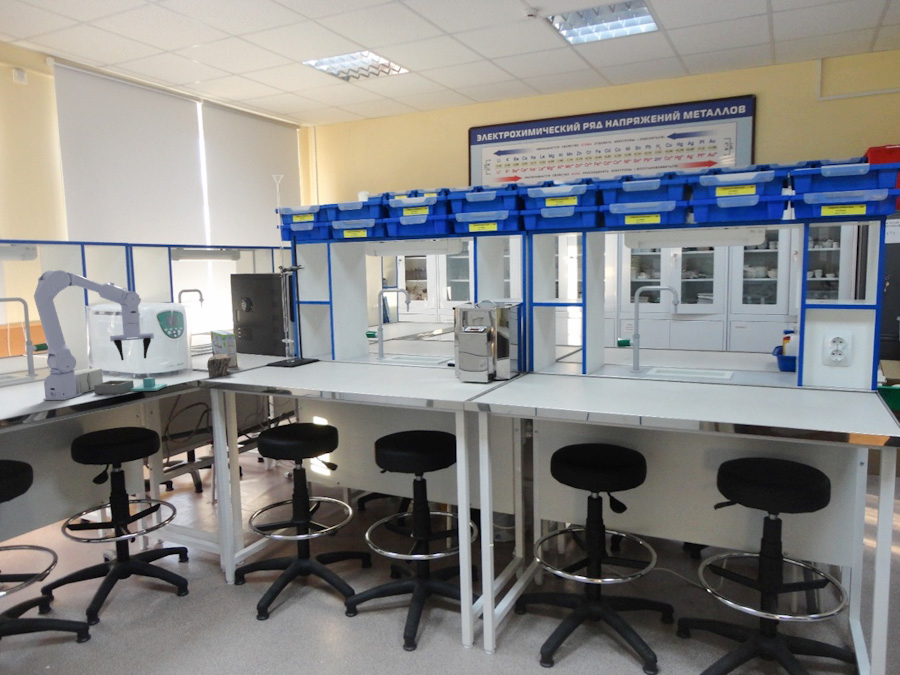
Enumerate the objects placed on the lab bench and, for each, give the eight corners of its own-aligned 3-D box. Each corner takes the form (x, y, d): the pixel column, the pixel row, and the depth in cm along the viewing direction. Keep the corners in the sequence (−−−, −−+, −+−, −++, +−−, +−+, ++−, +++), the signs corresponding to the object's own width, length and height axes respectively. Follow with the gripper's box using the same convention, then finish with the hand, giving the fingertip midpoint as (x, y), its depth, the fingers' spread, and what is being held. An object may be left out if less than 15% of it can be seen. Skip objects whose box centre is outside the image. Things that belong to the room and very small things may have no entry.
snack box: (211, 362, 297) (209, 330, 296) (223, 361, 301) (222, 329, 299) (225, 368, 280) (223, 334, 279) (238, 366, 284) (236, 333, 282)
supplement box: (104, 387, 238) (79, 394, 226) (87, 387, 240) (61, 394, 227) (102, 368, 237) (77, 374, 225) (85, 368, 239) (59, 374, 226)
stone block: (231, 376, 259) (230, 357, 258) (207, 377, 257) (206, 358, 256) (234, 370, 273) (233, 353, 272) (212, 371, 271) (211, 354, 270)
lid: (156, 392, 229) (155, 380, 229) (131, 392, 229) (130, 380, 228) (167, 387, 238) (166, 375, 237) (143, 387, 238) (142, 376, 237)
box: (119, 394, 224) (118, 385, 224) (95, 394, 225) (94, 385, 224) (133, 389, 233) (133, 380, 233) (110, 389, 234) (110, 380, 233)
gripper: (151, 321, 244) (154, 356, 246) (108, 323, 237) (111, 359, 239) (153, 322, 238) (155, 358, 240) (109, 324, 231) (112, 361, 233)
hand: (133, 359), depth 239 cm, fingers open, 7 cm apart
